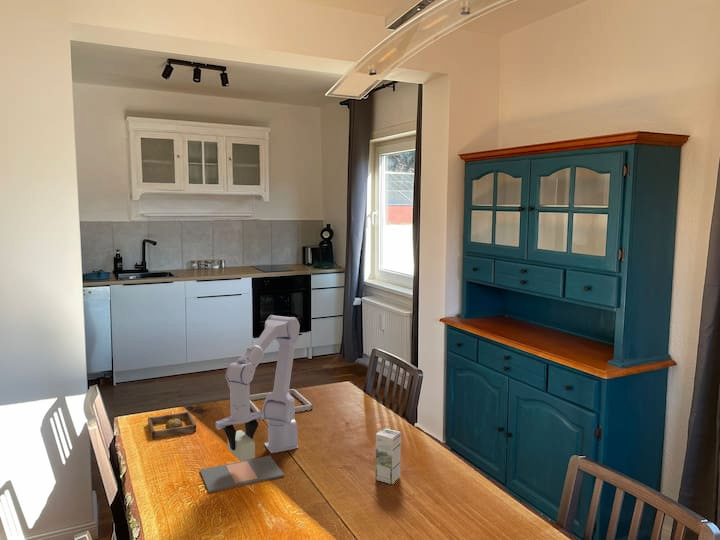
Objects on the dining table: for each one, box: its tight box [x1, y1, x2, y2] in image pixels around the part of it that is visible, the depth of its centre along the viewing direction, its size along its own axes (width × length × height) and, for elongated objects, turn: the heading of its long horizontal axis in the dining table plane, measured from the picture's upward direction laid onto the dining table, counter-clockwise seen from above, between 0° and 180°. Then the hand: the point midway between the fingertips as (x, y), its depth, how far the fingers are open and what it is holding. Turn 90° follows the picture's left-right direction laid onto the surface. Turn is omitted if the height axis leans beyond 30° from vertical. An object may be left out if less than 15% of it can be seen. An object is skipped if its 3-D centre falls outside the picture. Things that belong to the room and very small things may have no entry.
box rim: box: [250, 388, 314, 413], centre depth 221 cm, size 22×22×2 cm
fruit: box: [165, 418, 184, 429], centre depth 196 cm, size 8×8×4 cm
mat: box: [199, 455, 285, 494], centre depth 164 cm, size 22×14×1 cm, turn 117°
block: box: [227, 429, 256, 462], centre depth 163 cm, size 10×4×5 cm, turn 35°
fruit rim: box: [147, 411, 197, 440], centre depth 197 cm, size 15×15×2 cm
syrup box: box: [374, 427, 402, 485], centre depth 160 cm, size 6×6×14 cm
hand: (240, 446), depth 163 cm, fingers closed on block, 4 cm apart
